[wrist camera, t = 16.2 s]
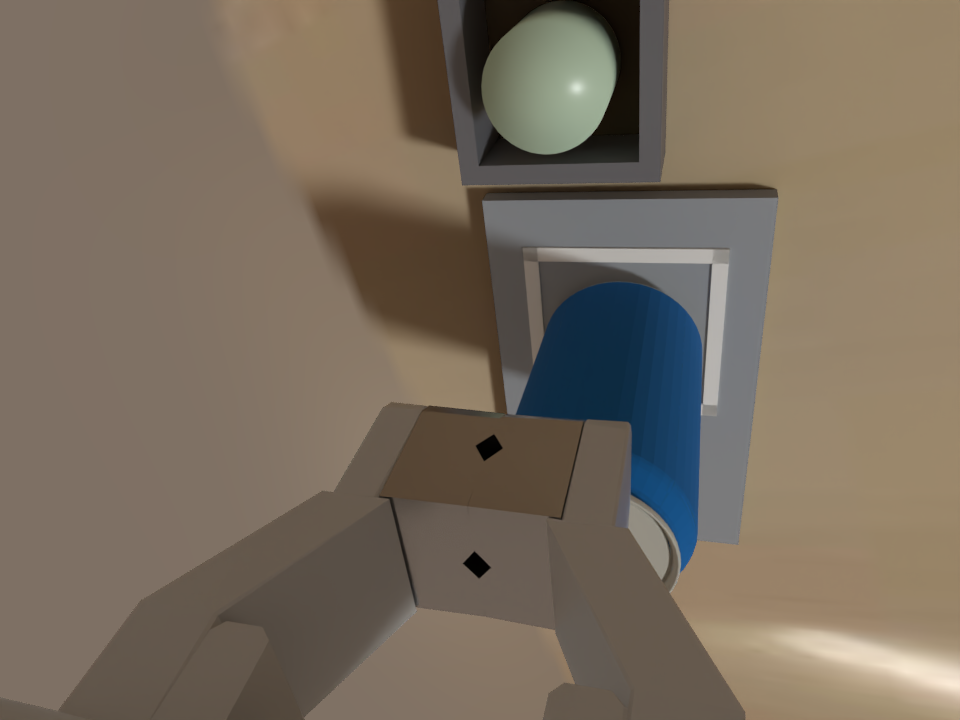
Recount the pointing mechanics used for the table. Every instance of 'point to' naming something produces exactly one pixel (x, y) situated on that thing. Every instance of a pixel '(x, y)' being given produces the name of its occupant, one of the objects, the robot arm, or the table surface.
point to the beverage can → (633, 402)
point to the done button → (552, 77)
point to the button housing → (582, 164)
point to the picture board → (658, 264)
